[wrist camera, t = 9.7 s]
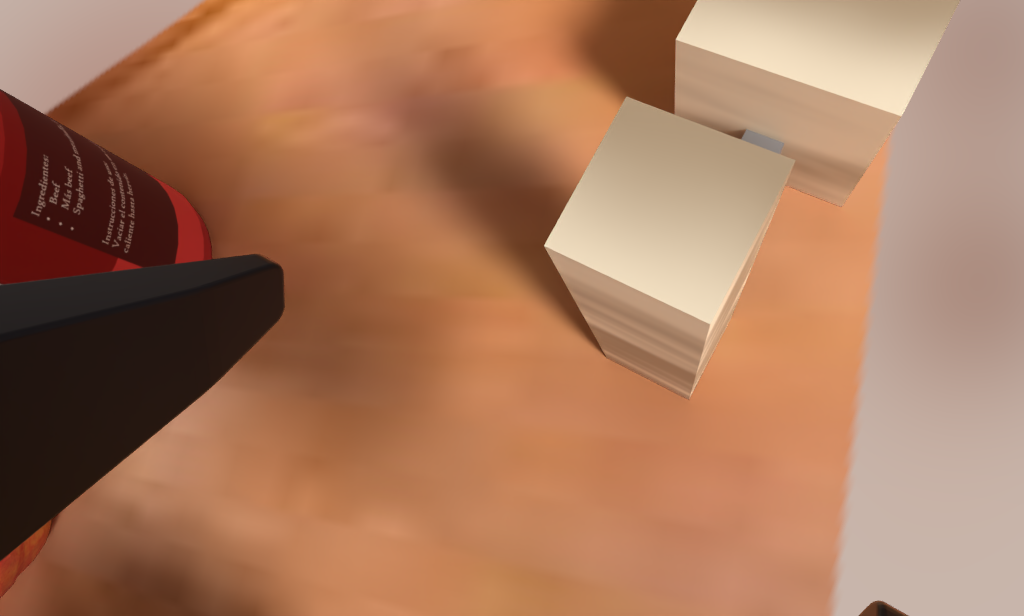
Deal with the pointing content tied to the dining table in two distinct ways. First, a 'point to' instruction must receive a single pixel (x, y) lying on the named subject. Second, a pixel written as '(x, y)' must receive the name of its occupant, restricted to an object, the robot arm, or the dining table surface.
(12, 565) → the fruit
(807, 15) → the tethered block
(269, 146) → the dining table surface
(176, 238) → the canned food
